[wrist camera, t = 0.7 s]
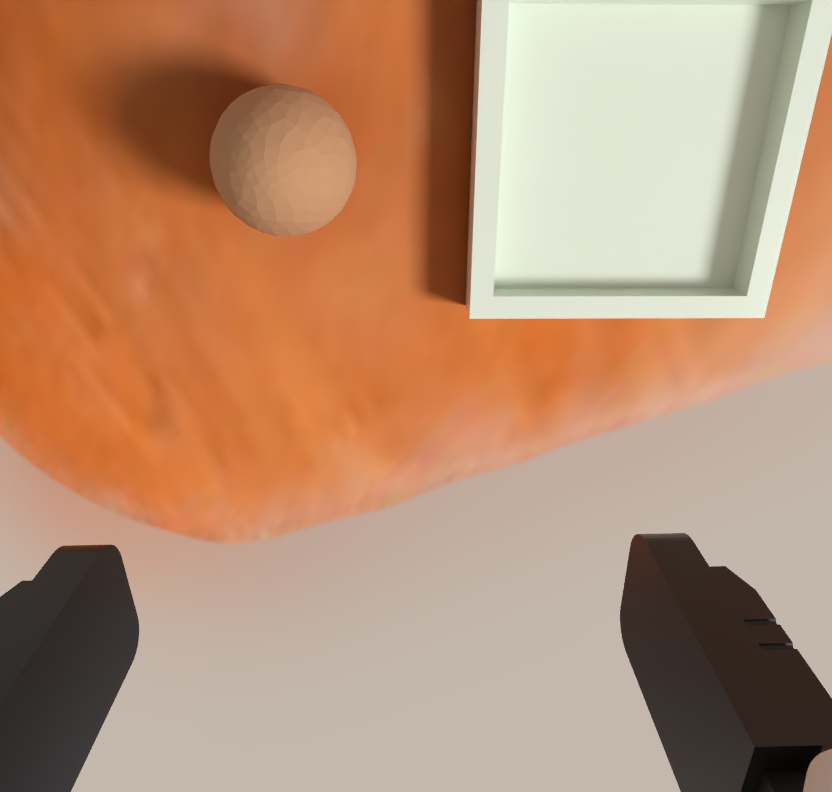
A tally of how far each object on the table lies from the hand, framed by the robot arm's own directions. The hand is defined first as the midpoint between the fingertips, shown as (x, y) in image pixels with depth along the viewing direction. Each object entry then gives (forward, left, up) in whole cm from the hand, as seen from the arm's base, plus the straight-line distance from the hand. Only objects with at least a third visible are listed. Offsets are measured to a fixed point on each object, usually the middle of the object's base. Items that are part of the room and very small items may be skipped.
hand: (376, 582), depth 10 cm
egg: (-5, -4, -22) cm, 22 cm away
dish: (-5, +10, -21) cm, 24 cm away
